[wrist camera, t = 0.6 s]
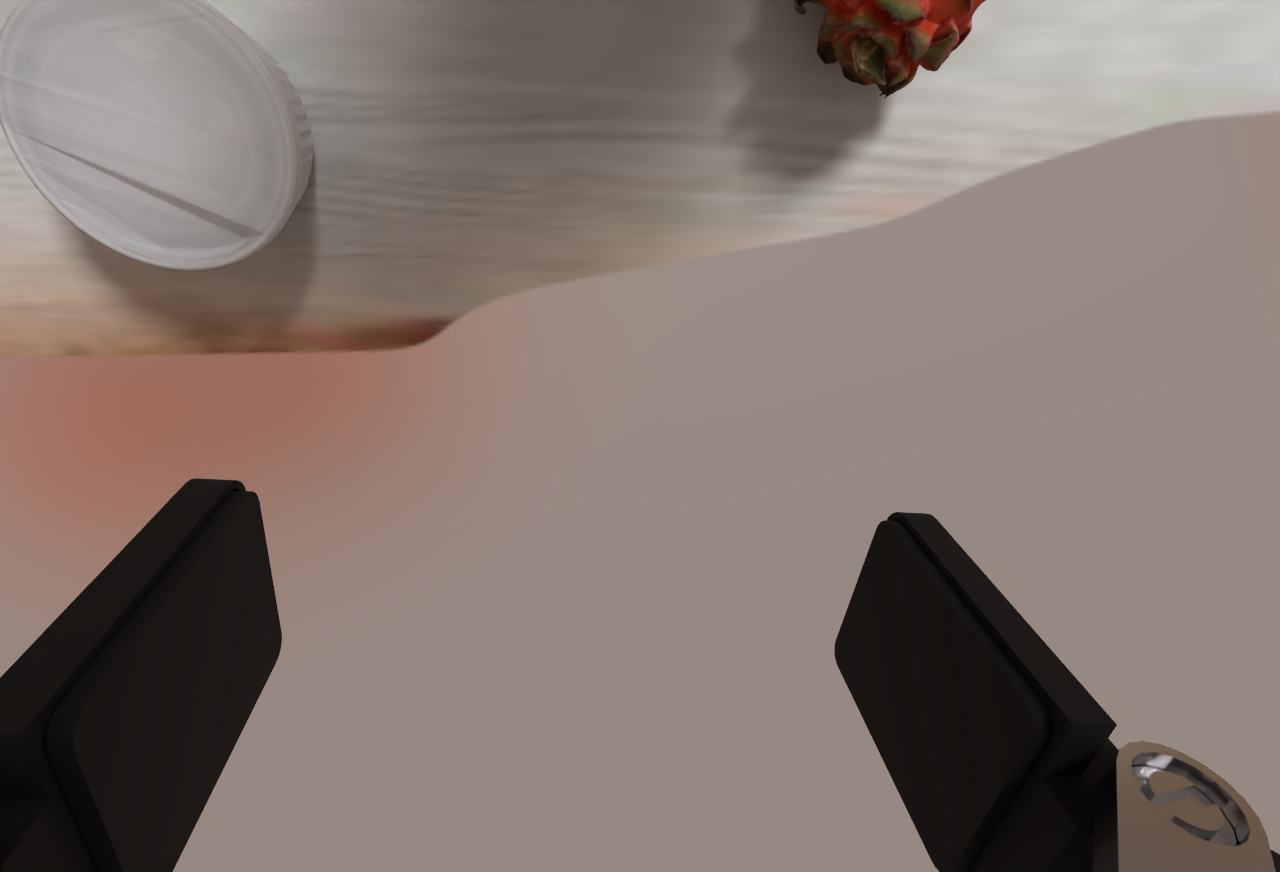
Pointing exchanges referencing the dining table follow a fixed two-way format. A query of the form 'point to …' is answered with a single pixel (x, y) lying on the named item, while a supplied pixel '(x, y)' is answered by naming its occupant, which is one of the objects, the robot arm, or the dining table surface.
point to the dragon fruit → (891, 37)
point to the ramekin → (154, 127)
